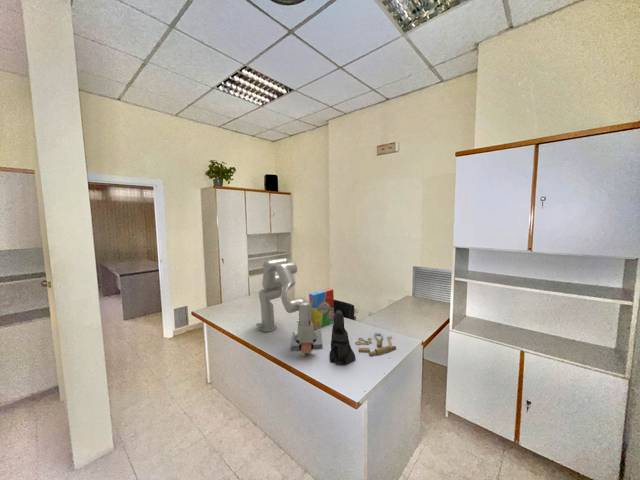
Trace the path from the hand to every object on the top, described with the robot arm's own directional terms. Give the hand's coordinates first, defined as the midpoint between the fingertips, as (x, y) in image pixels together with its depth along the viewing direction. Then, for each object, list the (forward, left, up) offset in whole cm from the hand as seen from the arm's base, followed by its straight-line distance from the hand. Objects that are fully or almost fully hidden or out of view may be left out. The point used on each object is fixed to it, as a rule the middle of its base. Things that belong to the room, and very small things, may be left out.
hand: (306, 349), depth 157 cm
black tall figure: (+20, -7, -4) cm, 22 cm away
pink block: (0, 0, -3) cm, 3 cm away
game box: (+12, +41, -4) cm, 43 cm away
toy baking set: (+46, +8, -4) cm, 47 cm away
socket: (0, +16, -3) cm, 16 cm away
